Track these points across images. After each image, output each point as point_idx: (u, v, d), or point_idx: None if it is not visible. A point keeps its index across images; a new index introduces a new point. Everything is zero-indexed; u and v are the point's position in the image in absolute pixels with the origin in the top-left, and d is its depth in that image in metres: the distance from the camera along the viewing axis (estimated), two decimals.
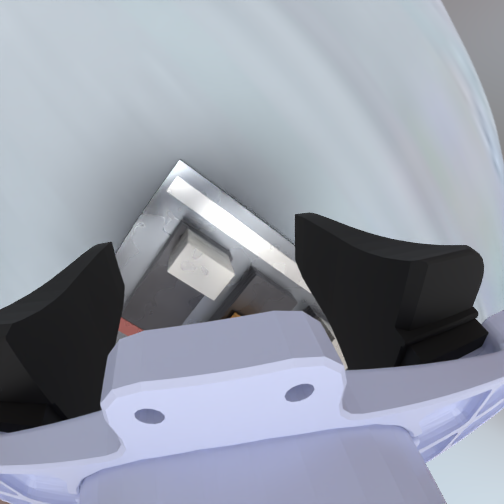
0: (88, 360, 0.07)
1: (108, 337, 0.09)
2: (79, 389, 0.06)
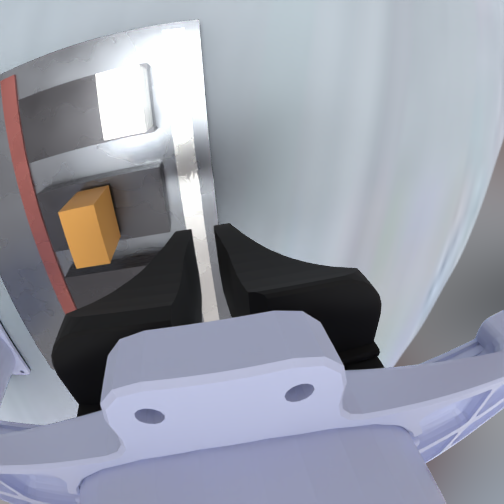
0: None
1: None
2: None
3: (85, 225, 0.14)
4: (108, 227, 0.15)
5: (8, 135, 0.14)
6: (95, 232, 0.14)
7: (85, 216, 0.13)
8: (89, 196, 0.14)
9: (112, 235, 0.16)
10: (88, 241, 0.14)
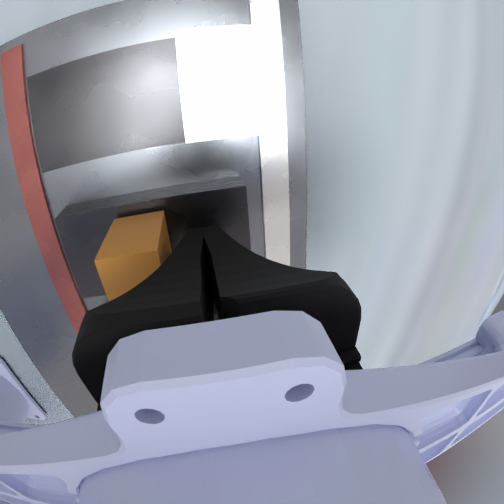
0: None
1: None
2: None
3: (141, 281, 0.09)
4: None
5: (9, 130, 0.10)
6: None
7: (142, 268, 0.09)
8: (140, 230, 0.10)
9: None
10: None
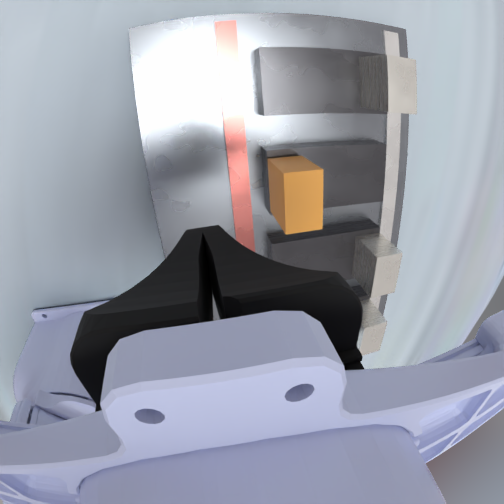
0: None
1: None
2: None
3: (309, 189, 0.15)
4: None
5: (221, 81, 0.16)
6: (317, 197, 0.15)
7: (312, 180, 0.15)
8: (298, 162, 0.16)
9: None
10: (307, 206, 0.15)
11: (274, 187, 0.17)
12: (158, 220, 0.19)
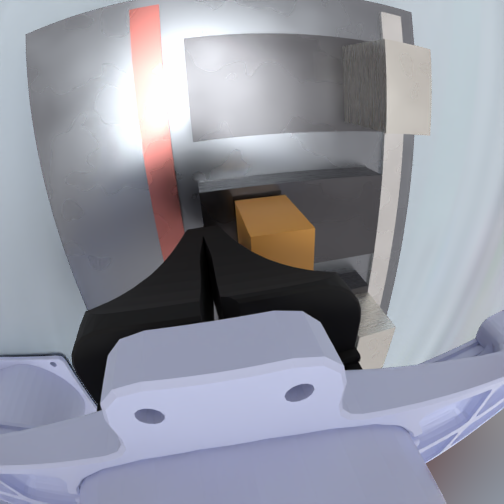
0: None
1: None
2: None
3: (293, 258, 0.10)
4: None
5: (137, 94, 0.11)
6: None
7: (297, 245, 0.10)
8: (278, 211, 0.11)
9: None
10: None
11: None
12: (77, 279, 0.14)
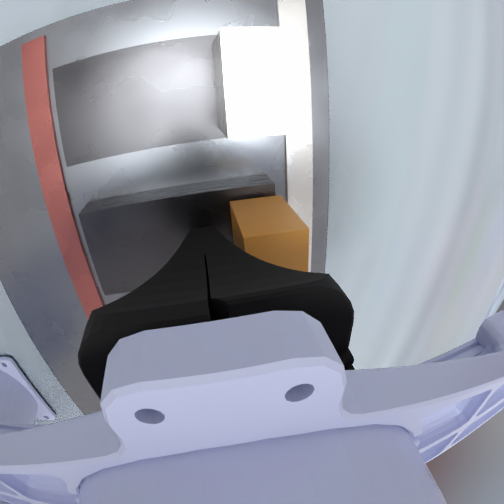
0: None
1: None
2: None
3: (287, 259, 0.10)
4: None
5: (30, 123, 0.10)
6: (299, 270, 0.10)
7: (291, 246, 0.10)
8: (273, 212, 0.11)
9: None
10: None
11: None
12: (6, 290, 0.13)
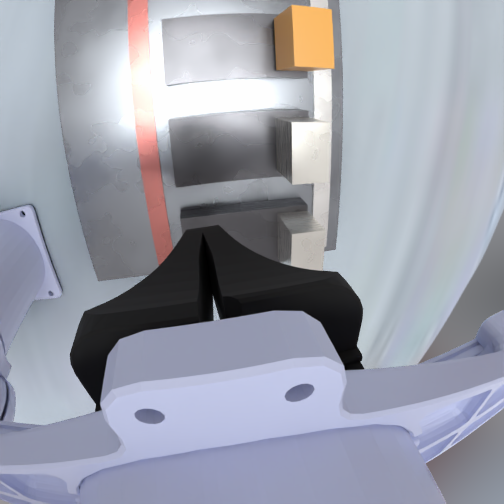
0: None
1: None
2: None
3: (318, 24, 0.11)
4: None
5: None
6: (327, 34, 0.12)
7: (321, 16, 0.11)
8: None
9: None
10: (317, 40, 0.12)
11: (281, 35, 0.13)
12: (60, 105, 0.15)
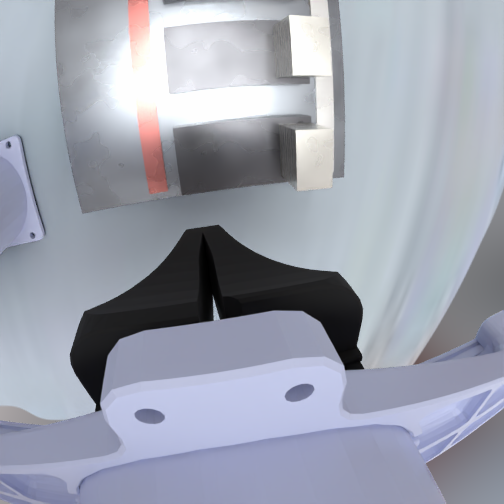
0: None
1: None
2: None
3: None
4: None
5: None
6: None
7: None
8: None
9: None
10: None
11: None
12: (56, 29, 0.12)
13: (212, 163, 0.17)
